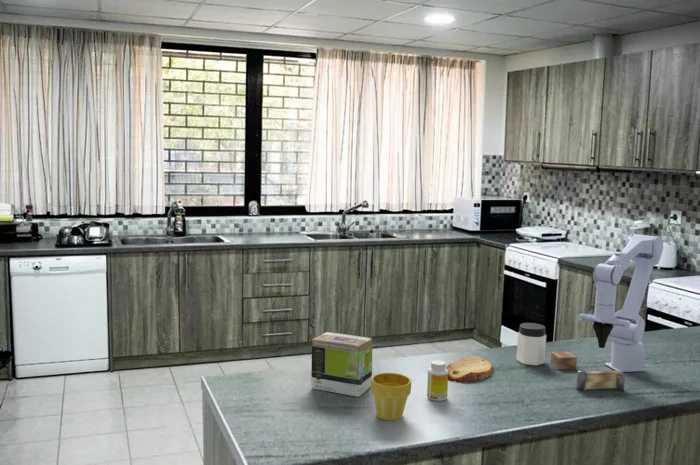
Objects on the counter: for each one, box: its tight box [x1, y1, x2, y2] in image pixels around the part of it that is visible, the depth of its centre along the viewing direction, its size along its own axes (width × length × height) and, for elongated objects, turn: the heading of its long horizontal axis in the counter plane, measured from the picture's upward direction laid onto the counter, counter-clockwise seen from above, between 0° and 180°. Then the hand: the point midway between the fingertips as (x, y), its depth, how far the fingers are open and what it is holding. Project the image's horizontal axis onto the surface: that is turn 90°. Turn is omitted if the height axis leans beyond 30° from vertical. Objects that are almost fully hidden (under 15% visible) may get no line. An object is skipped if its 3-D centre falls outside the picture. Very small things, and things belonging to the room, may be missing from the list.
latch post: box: [616, 374, 626, 392], centre depth 191 cm, size 2×2×4 cm
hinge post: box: [575, 369, 587, 392], centre depth 191 cm, size 2×2×6 cm
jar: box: [515, 322, 547, 367], centre depth 215 cm, size 9×8×12 cm
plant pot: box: [370, 372, 412, 421], centre depth 169 cm, size 10×10×10 cm
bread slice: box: [446, 356, 494, 383], centre depth 204 cm, size 18×18×4 cm
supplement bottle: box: [426, 359, 449, 402], centre depth 182 cm, size 6×6×10 cm
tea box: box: [310, 331, 373, 398], centre depth 187 cm, size 15×10×15 cm, turn 65°
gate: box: [585, 370, 624, 390], centre depth 192 cm, size 11×2×5 cm, turn 99°
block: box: [549, 351, 578, 370], centre depth 212 cm, size 6×6×4 cm
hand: (601, 347), depth 200 cm, fingers closed
